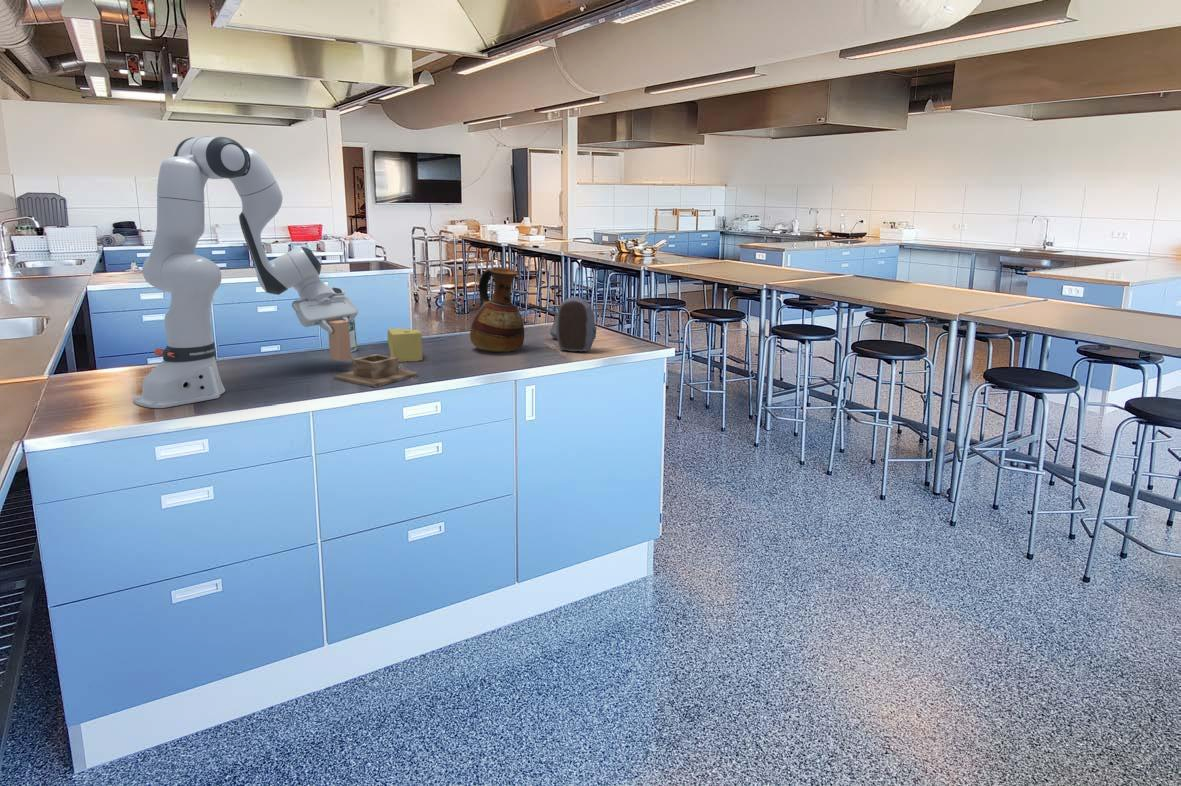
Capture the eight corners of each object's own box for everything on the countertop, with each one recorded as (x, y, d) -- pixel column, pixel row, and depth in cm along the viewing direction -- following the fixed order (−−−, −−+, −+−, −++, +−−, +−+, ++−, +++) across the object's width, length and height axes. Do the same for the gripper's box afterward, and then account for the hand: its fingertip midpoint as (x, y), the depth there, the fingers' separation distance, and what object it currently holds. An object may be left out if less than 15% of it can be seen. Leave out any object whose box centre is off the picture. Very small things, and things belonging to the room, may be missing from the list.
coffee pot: (571, 335, 300) (572, 298, 296) (583, 340, 290) (583, 302, 286) (522, 338, 292) (521, 301, 288) (532, 344, 282) (532, 305, 278)
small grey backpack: (553, 351, 270) (553, 296, 265) (561, 347, 277) (561, 293, 272) (592, 354, 265) (593, 299, 260) (599, 350, 273) (600, 296, 268)
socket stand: (374, 387, 217) (373, 367, 215) (333, 379, 226) (331, 359, 224) (418, 375, 231) (417, 357, 230) (378, 368, 240) (377, 350, 239)
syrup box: (349, 353, 261) (346, 312, 257) (334, 352, 262) (330, 312, 258) (357, 350, 266) (354, 310, 263) (342, 349, 268) (339, 309, 264)
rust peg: (339, 360, 233) (337, 323, 230) (330, 359, 235) (327, 321, 232) (351, 358, 236) (348, 321, 233) (341, 356, 239) (339, 319, 235)
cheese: (418, 354, 261) (417, 326, 258) (423, 361, 251) (422, 332, 249) (388, 356, 257) (387, 328, 255) (392, 363, 248) (390, 334, 245)
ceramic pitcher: (502, 358, 257) (501, 271, 250) (458, 351, 268) (456, 268, 260) (535, 348, 274) (535, 267, 266) (493, 342, 284) (491, 263, 276)
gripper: (293, 294, 225) (316, 330, 223) (346, 288, 242) (369, 320, 240) (285, 308, 229) (308, 342, 226) (338, 300, 245) (360, 332, 243)
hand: (340, 331), depth 233 cm, fingers closed on rust peg, 4 cm apart
